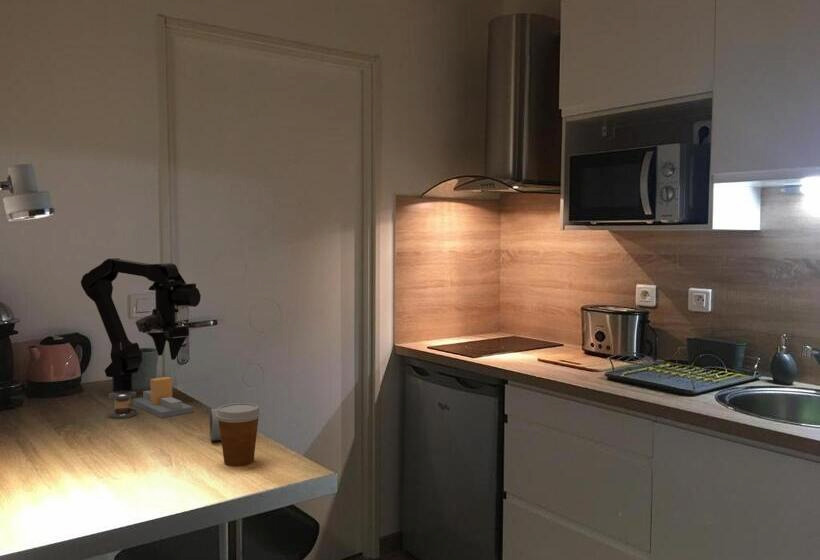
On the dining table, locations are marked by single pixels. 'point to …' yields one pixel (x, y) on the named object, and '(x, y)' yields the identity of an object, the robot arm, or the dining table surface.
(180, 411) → the notched board
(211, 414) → the ceramic mug
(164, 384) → the orange tab
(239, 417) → the disposable coffee cup
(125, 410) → the grey and brown spool
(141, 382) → the grey green pot
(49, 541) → the dining table surface
